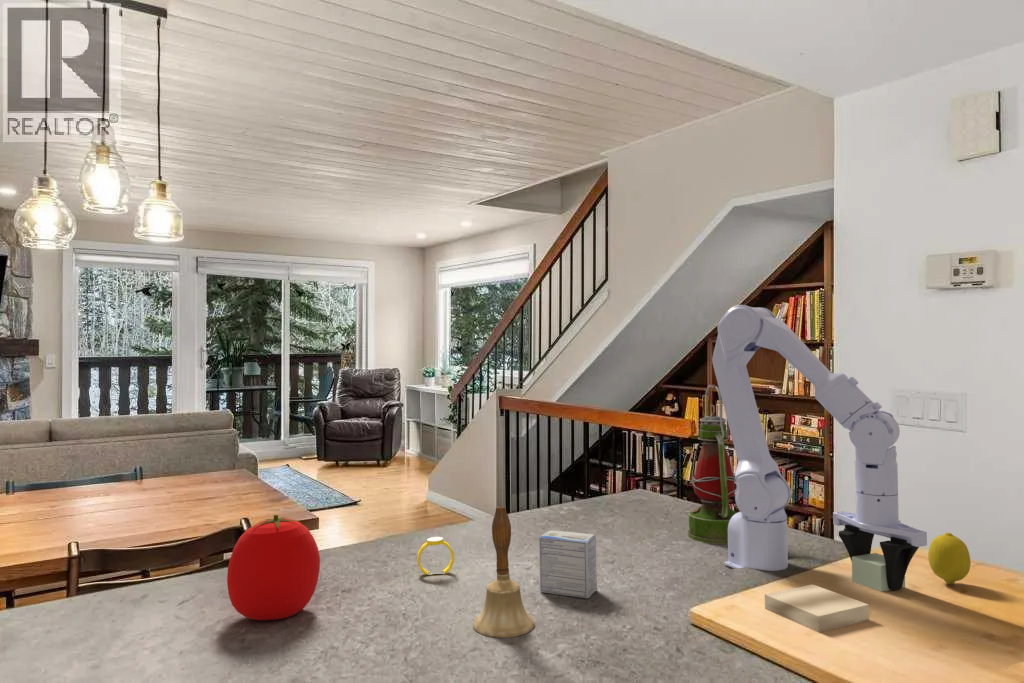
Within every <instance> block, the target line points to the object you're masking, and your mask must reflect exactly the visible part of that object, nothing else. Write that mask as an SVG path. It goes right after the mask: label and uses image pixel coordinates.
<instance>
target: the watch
mask: <svg viewBox="0 0 1024 683" xmlns="http://www.w3.org/2000/svg"><path fill="white" fill-rule="evenodd" d="M440 545H443V546H445V547H447V549H448V550H449V553H450V560H449V563H448V565H447V566H446V567H445V568H444V569H443V570H442V571H444V573H446V574H447V573H448V572H449V571H450V570H451V569H452V567H453V565H454V562H455V555H454V553H455V552H454V551H453V549H452V547H451V545H450V543H448V542H447V541H445V539H444V537H442V536H432V537H429V538H427V539H426V542H424V543H423V544H422V545H421V547H420V548H419V549H418V552H417V560H416V561H417V565H418V567H419V569H420V571H421V572H422V573H423V574H424V575H426V574H428V572H429V571H428V570H426V569H425V568H424V567H423V565H422V563H421V558H422V557H421V555H422V553H423V551H424V550H425V549H426V548H427V547H429V546H440ZM431 574H432V573H431Z"/></svg>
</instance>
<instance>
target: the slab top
mask: <svg viewBox="0 0 1024 683" xmlns="http://www.w3.org/2000/svg"><path fill="white" fill-rule="evenodd" d="M869 605H870V604H868V603H866V602H862V601H860V600H857V599H854V598H852V597H849V596H846V595H843V594H840V593H838V592H835V591H832V590H829V589H827V588H824V587H821V586H818V585H815V584H807V585H803V586H799V587H793V588H787V589H784V590H780V591H774V592H769V593H765V594H764V610H766V611H767V610H768V611H770V613H774V614H776V615H779V616H781V617H783V618H785V619H787V620H790V621H792V622H795V623H797V624H799V625H802V626H803V627H805V628H809V629H810V630H813V631H814V632H815V631H816V632H817V633H823V632H826V631H827V632H828V631H830V630H835V629H840V628H843V627H846V626H851V625H855V624H860V623H859V622H861V623H864V622H863V621H865V622H868V621H869V620H870V610H869V609H870V608H869ZM867 620H868V621H867Z"/></svg>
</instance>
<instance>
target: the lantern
mask: <svg viewBox="0 0 1024 683" xmlns="http://www.w3.org/2000/svg"><path fill="white" fill-rule="evenodd" d="M710 389H712V390H716V391H717V394H718V401H719V403H718V404H719V406H718V407H719V415H716V414H715V411H716V410H715V408H716V407H715V405H714V404H710V406H709V407H710V409H709V410H710V411H709V412H710V415H708V394H709V393H708V392H709V390H710ZM722 407H723V405H722V398H721V394H720V390H719V386H718V384H717V385H716V384H708V386H707V387H706V390H705V396H704V409H705V410H704V417H702V418H700V419H699V421H700V423H699V436H698V437H697V439H698V440H700V441H702V446H701V448H700V451H699V455H698V458H697V463H696V467H695V472H694V474H693V475H692V478H691V482H692V486H693V491H694V494H695V496H697V497H699V498H700V501H701V502H702V505H700V506H698V507H695V508H693V509H692V510H690V512H688V530H687V534H688V535H687V538H689V539H691V540H692V541H697V542H700V543H706V544H713V545H715V544H717V545H720V544H721V545H728V524H729V521H730V519H731V518H732V516H733V515H735V514H736V513H738V512H737V511H736V510H733V509H732V508H730V504H729V499H731V498H732V497H734V496H735V494H736V489H737V484H736V479H735V476H734V472H733V469H732V464H731V461H730V458H729V454H728V452H727V449H726V447H725V446H726V445H725V442H724V441H729V439H730V438H729V437H728V430H727V424H726V422H727V418H723V411H722ZM712 408H713V410H712Z"/></svg>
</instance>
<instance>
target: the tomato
mask: <svg viewBox="0 0 1024 683" xmlns="http://www.w3.org/2000/svg"><path fill="white" fill-rule="evenodd" d="M314 537H315V536H313V534H312V533H311V531H310V530H309V529H308V527H307V526H305V525H304V524H303V523H302V522H301V521H299V520H296V519H295V520H294V519H291V518H289V517H288V516H287V517H285V516H283V517H279V515H278V514H274V515H273V518H266V519H262V520H260V521H258V522H257V523H256V524H253V525H252V526H250V527H249V528H247V529H246V530H245V531H244V532H243V533H242V534H241V536H240V537H239V538H238V540H237V541H236V543H235V545H234V547H233V550H232V552H231V556H230V557H229V561H228V562H229V563H228V566H227V576H226V583H227V584H226V585H227V593H228V597H229V600H230V603H231V605H232V607H233V608H234V609H235V611H236V613H239V614H240V615H242V616H243V617H245V618H247V619H251V620H255V621H271V620H272V621H275V620H283V619H287V618H290V617H292V616H294V615H296V614H298V613H300V612H301V611H303V610H304V608H305V607H306V606H307V605H308V604H309V603H310V601H311V599H312V598H313V595H314V594H315V590H316V588H317V585H318V581H319V576H320V570H321V568H320V567H321V557H320V550H319V547H318V545H317V542H316V540H315V538H314Z"/></svg>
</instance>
